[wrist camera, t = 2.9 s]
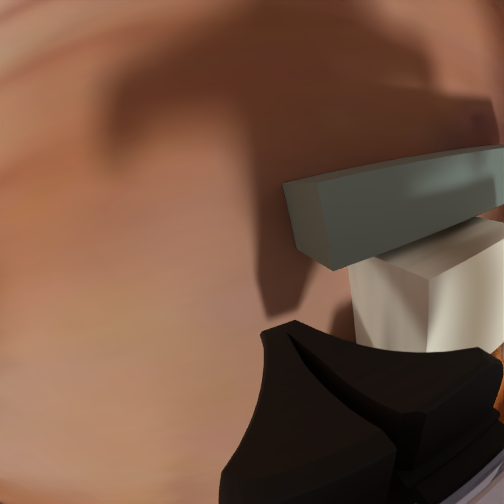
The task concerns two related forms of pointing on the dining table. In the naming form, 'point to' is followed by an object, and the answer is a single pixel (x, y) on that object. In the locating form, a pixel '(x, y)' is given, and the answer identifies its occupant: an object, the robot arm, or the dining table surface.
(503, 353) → the pale green oval piece
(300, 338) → the robot arm
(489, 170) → the slot holder
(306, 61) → the dining table surface
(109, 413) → the dining table surface
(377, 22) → the dining table surface
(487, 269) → the cream block
